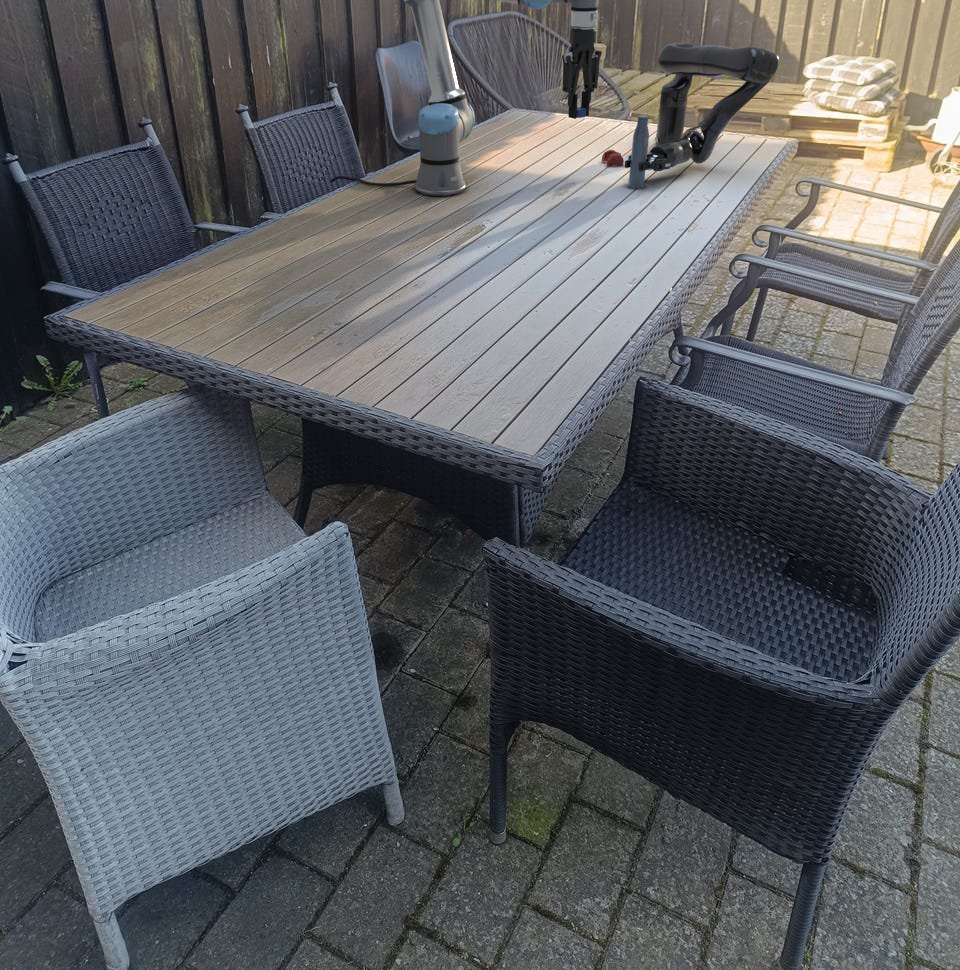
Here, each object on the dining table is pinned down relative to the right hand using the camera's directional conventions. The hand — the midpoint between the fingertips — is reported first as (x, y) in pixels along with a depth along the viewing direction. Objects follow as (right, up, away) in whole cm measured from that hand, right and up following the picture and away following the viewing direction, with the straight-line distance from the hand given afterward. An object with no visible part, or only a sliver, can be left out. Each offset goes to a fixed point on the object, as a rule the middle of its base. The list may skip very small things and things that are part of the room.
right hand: (632, 166), depth 256 cm
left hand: (-17, +12, -7) cm, 22 cm away
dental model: (-2, +11, +26) cm, 29 cm away
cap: (-17, +14, -8) cm, 23 cm away
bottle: (+2, -4, +5) cm, 7 cm away
